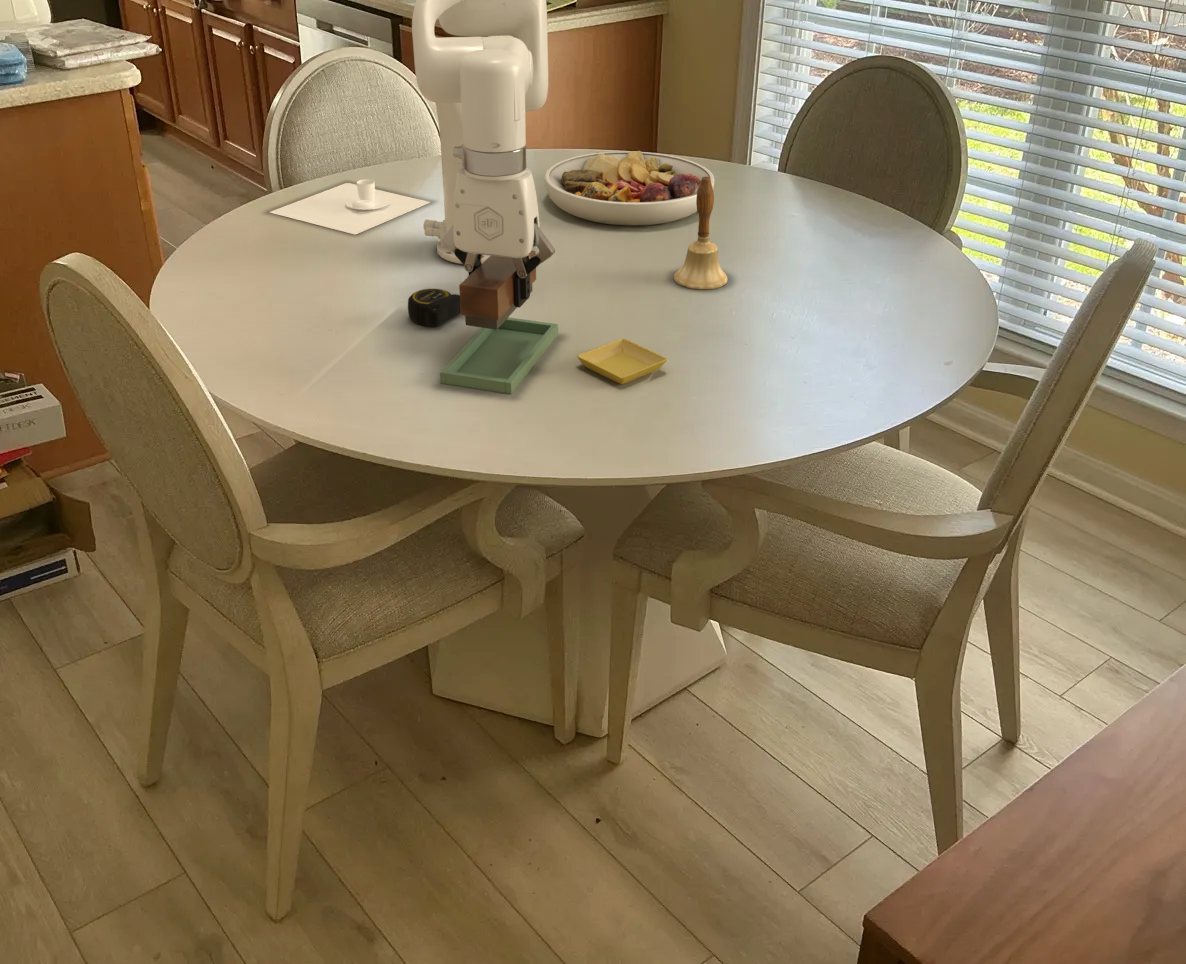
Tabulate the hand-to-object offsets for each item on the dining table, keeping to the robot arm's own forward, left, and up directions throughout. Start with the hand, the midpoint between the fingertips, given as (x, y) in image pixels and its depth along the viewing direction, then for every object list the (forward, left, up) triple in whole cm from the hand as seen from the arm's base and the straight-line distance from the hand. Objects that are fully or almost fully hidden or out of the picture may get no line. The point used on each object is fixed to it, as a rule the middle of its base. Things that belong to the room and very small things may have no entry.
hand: (500, 299), depth 149 cm
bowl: (-1, +67, -9) cm, 68 cm away
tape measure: (-13, +9, -9) cm, 18 cm away
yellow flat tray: (+16, +2, -9) cm, 18 cm away
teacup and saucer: (-47, +49, -9) cm, 69 cm away
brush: (0, 0, -1) cm, 1 cm away
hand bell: (+19, +36, -9) cm, 42 cm away
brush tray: (0, 0, -9) cm, 9 cm away
